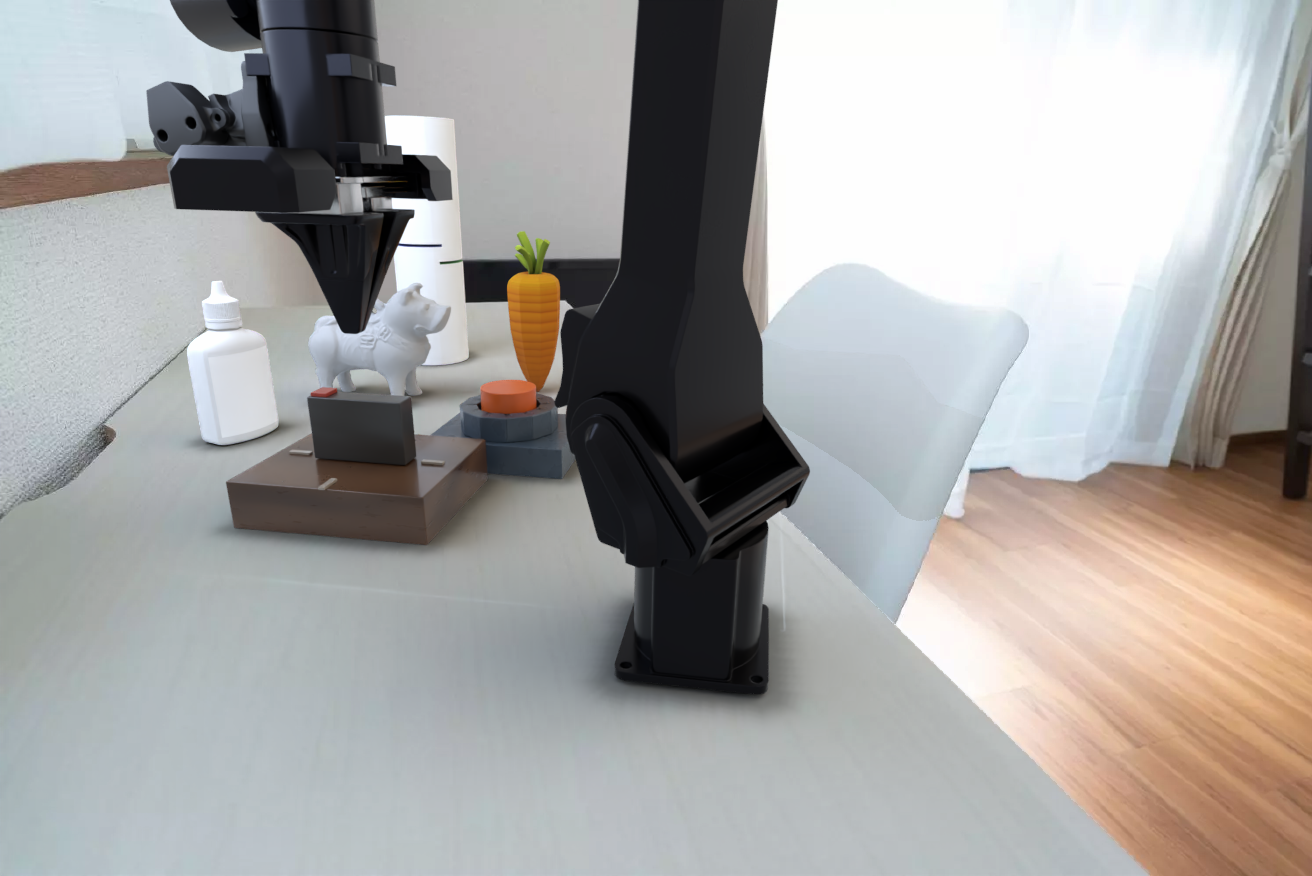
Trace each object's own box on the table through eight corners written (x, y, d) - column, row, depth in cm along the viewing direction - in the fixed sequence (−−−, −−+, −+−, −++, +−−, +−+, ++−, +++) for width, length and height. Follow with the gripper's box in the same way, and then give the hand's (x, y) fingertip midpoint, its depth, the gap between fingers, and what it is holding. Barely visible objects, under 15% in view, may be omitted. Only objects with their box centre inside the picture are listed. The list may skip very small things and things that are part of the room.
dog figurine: (446, 410, 67) (438, 289, 64) (306, 404, 68) (290, 284, 64) (464, 393, 72) (457, 281, 69) (333, 388, 73) (320, 275, 69)
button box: (562, 479, 53) (560, 425, 51) (425, 469, 54) (421, 415, 53) (587, 441, 60) (587, 393, 59) (467, 433, 62) (464, 385, 60)
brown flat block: (426, 546, 43) (421, 495, 42) (232, 529, 45) (223, 479, 43) (488, 479, 53) (486, 436, 52) (327, 466, 54) (321, 424, 53)
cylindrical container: (399, 353, 87) (377, 118, 79) (461, 348, 90) (447, 121, 82) (408, 367, 81) (385, 114, 73) (474, 362, 84) (460, 118, 76)
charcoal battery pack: (417, 456, 48) (411, 392, 46) (405, 465, 46) (399, 399, 45) (328, 449, 49) (320, 386, 47) (314, 458, 47) (305, 393, 46)
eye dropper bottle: (287, 436, 60) (264, 282, 56) (206, 449, 57) (176, 288, 53) (275, 421, 63) (253, 276, 59) (198, 433, 60) (169, 280, 56)
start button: (527, 419, 54) (526, 395, 53) (473, 415, 54) (472, 392, 54) (542, 403, 58) (542, 381, 57) (492, 400, 58) (491, 378, 57)
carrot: (568, 396, 72) (566, 234, 67) (517, 401, 70) (510, 234, 65) (555, 383, 76) (552, 229, 71) (506, 387, 75) (499, 230, 70)
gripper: (284, 62, 49) (315, 301, 55) (20, 2, 32) (102, 361, 37) (447, 63, 48) (462, 309, 53) (264, 1, 31) (313, 374, 36)
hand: (353, 332), depth 45 cm, fingers closed
